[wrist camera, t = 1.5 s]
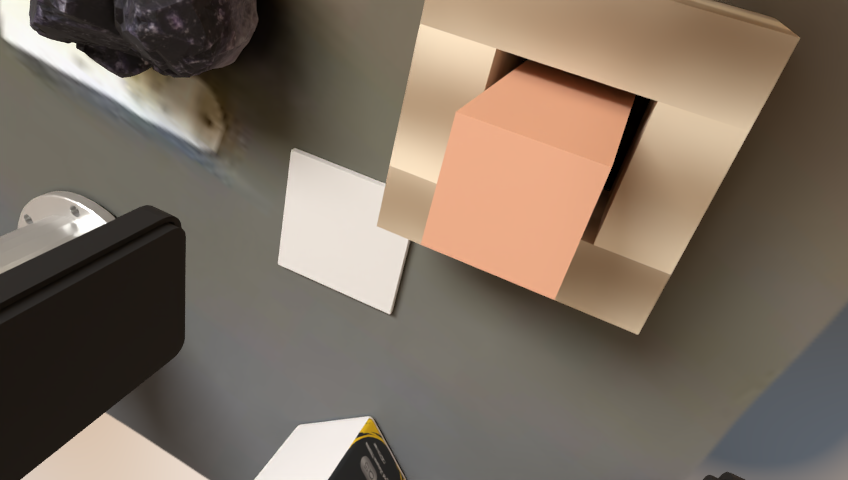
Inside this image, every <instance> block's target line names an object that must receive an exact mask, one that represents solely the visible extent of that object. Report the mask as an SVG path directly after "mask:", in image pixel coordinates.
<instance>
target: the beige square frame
mask: <svg viewBox="0 0 848 480" xmlns="http://www.w3.org/2000/svg"><path fill="white" fill-rule="evenodd" d="M799 40H800V37H798V36H797V35H796V34H795V33H793V32H792V31H791V30H790V29H788V28H787V27H786V26H784V25H783V24H782V23H781V22H779V21H778V20H777V19H776V18H773V17H770V16H766V15H763V14H759V13H756V12H752V11H749V10H745V9H742V8H738V7H735V6H731V5H727V4H724V3H720V2H717V1H713V0H425V4H424V8H423V13H422V17H421V22H420V27H419V31H418V36H417V41H416V45H415V50H414V55H413V59H412V64H411V69H410V73H409V78H408V83H407V87H406V92H405V97H404V101H403V106H402V110H401V115H400V120H399V124H398V129H397V134H396V138H395V143H394V148H393V152H392V157H391V162H390V166H389V171H388V176H387V180H386V185H385V190H384V194H383V199H382V203H381V208H380V213H379V217H378V222H377V227H380V228H382V229H385V230H387V231H389V232H392V233H394V234H397V235H399V236H401V237H404V238H406V239H409V240H411V241H413V242H416V243H418V244H421V241H422V237H423V234H424V230H425V226H426V222H427V219H428V215H429V211H430V207H431V204H432V200H433V196H434V192H435V188H436V185H437V181H438V177H439V173H440V170H441V166H442V162H443V158H444V155H445V151H446V147H447V143H448V140H449V136H450V132H451V128H452V124H453V121H454V117H455V113H456V111H458V110H459V109H460V108H462V107H463V106H464V105H466V104H467V103H469V102H470V101H471V100H473V99H474V98H476V97H477V96H478V95H480V94H481V93H482V92H484V91H485V90H487V89H488V88H489V87H491V86H492V85H494V84H495V83H496V82H498V81H499V80H500V79H502V78H503V77H505V76H506V75H507V74H509V73H510V72H511V71H513V70H514V69H516V68H517V67H518V66H520V65H521V63H522V60H523V57H524V58H527V59H530V60H533V61H536V62H539V63H542V64H545V65H548V66H551V67H554V68H557V69H560V70H563V71H566V72H570V73H573V74H576V75H579V76H582V77H585V78H588V79H591V80H594V81H597V82H600V83H603V84H606V85H609V86H612V87H615V88H618V89H622V90H625V91H628V92H631V93H634V94H637V95H640V96H643V97H646V98H649V99H650V101H649V103H648V106H647V108H646V110H645V112H644V115H643V117H642V119H641V122H640V124H639V126H638V128H637V131H636V133H635V135H634V137H633V140H632V142H631V144H630V147H629V149H628V151H627V153H626V156H625V158H624V160H623V162H622V165H621V167H620V169H619V172H618V174H617V176H616V178H615V181H614V183H613V185H612V187H611V190H610V192H609V191H607V190H604V189H602V191H601V194H600V196H599V198H598V201H597V203H596V205H595V208H594V210H593V212H592V215H591V217H590V219H589V222H588V224H587V226H586V228H585V231H584V233H583V235H582V238H581V240H580V242H579V245H578V247H577V249H576V252H575V254H574V256H573V259H572V261H571V263H570V266H569V268H568V270H567V272H566V275H565V277H564V279H563V282H562V284H561V286H560V289H559V291H558V293H557V296H556V298H555V301H558V302H560V303H563V304H565V305H568V306H570V307H572V308H575V309H577V310H580V311H582V312H584V313H587V314H589V315H592V316H594V317H596V318H599V319H601V320H604V321H606V322H608V323H611V324H613V325H616V326H618V327H620V328H623V329H625V330H628V331H630V332H632V333H635V334H637V335H638V334H639V332H640V331H641V329H642V327H643V325H644V323H645V321H646V320H647V318H648V316H649V314H650V312H651V310H652V309H653V307H654V305H655V303H656V301H657V299H658V298H659V296H660V294H661V292H662V290H663V288H664V287H665V285H666V283H667V281H668V279H669V278H670V276H671V274H672V272H673V270H674V268H675V267H676V265H677V263H678V261H679V259H680V257H681V256H682V254H683V252H684V250H685V248H686V246H687V245H688V243H689V241H690V239H691V237H692V235H693V234H694V232H695V230H696V228H697V226H698V224H699V223H700V221H701V219H702V217H703V215H704V213H705V212H706V210H707V208H708V206H709V204H710V202H711V201H712V199H713V197H714V195H715V193H716V192H717V190H718V188H719V186H720V184H721V182H722V181H723V179H724V177H725V175H726V173H727V171H728V170H729V168H730V166H731V164H732V162H733V160H734V159H735V157H736V155H737V153H738V151H739V149H740V148H741V146H742V144H743V142H744V140H745V138H746V137H747V135H748V133H749V131H750V129H751V127H752V126H753V124H754V122H755V120H756V118H757V116H758V115H759V113H760V111H761V109H762V107H763V106H764V104H765V102H766V100H767V98H768V96H769V95H770V93H771V91H772V89H773V87H774V85H775V84H776V82H777V80H778V78H779V76H780V74H781V73H782V71H783V69H784V67H785V65H786V63H787V62H788V60H789V58H790V56H791V54H792V52H793V51H794V49H795V47H796V45H797V43H798V41H799ZM442 254H443V253H442ZM454 259H455V258H454ZM466 264H467V263H466ZM478 269H479V268H478ZM490 274H491V273H490ZM519 286H520V285H519ZM531 291H532V290H531ZM543 296H544V295H543Z"/></svg>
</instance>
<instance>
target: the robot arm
mask: <svg viewBox="0 0 848 480" xmlns="http://www.w3.org/2000/svg"><path fill="white" fill-rule="evenodd" d="M185 253H186V236H185V232H184V230H183V229H182V228H181V223H180V221H179V219H178V218H176V217H175V216H172V215H170V214H168V213H166V212H164V211H162V210H159V209H157V208H155V207H153V206H149V205H145V206H142V207H139V208H137V209H135V210H133V211H131V212H129V213H127V214H125V215H123V216H120V217H118V218H115V217H114V216H113V215H112V214H110V213H109V212H108V211H107V210H105V209H104V208H103V207H101V206H100V205H98V204H97V203H95V202H93V201H91V200H90V199H88V198H86V197H84V196H82V195H78V194H75V193H72V192H67V191H54V192H49V193H46V194H43V195H41V196H39V197H36V198H34V199H32V200H31V201H30V202H29V203H27V204H26V205H25V207H24V209H23V210H22V212H21V215H20V219H19V223H18V229H17V230H15V231H12V232H10V233H8V234H5V235H3V236H1V237H0V480H20V479H22V478H23V477H24V476H25V475H26V474H28V473H29V472H31V471H32V470H33V469H34V468H35V467H37V466H38V465H39V464H41V463H42V462H43V461H44V460H45V459H47V458H48V457H49V456H51V455H52V454H53V453H54V452H56V451H57V450H58V449H59V448H61V447H62V446H63V445H64V444H66V443H67V442H68V441H70V440H71V439H72V438H73V437H75V436H76V435H77V434H78V433H80V432H81V431H82V430H83V429H85V428H86V427H87V426H88V425H90V424H91V423H92V422H93V421H95V420H96V419H97V418H98V417H100V416H101V415H102V414H103V413H105V412H106V411H107V410H108V409H110V408H111V407H112V406H114V405H115V404H116V403H117V402H119V401H120V400H121V399H122V398H124V397H125V396H126V395H127V394H129V393H130V392H131V391H132V390H134V389H135V388H136V387H137V386H139V385H140V384H141V383H142V382H144V381H145V380H146V379H147V378H149V377H150V376H151V375H152V374H154V373H155V372H156V371H158V370H159V369H160V368H161V367H163V366H164V365H165V364H166V363H168V362H169V361H170V360H171V359H173V358H174V357H175V356H176V355H177V354H178V352H179V351H180V350H181V348H182V346H183V343H184V340H185ZM703 480H745V479H742V478H740V477H738V476H736V475H734V474H732V473H729V472H726V473H724V474H722V475H721V476H720V477H719V478H716V477H714V476H712V475H708V476H706V477H705V478H704V479H703Z"/></svg>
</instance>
